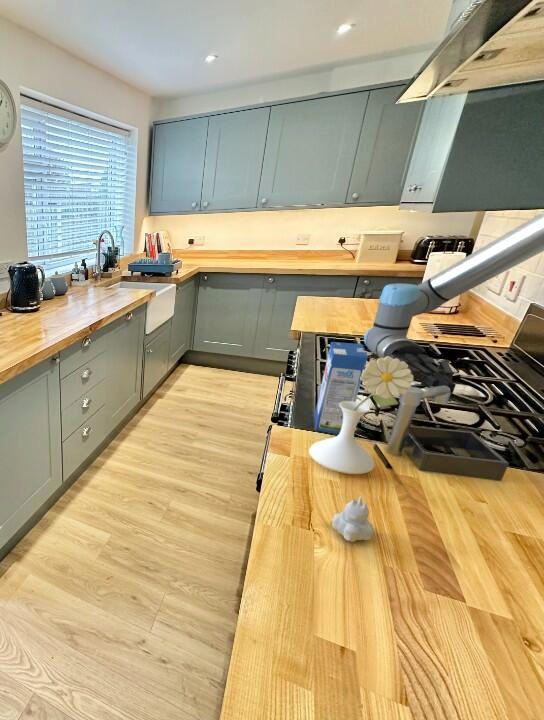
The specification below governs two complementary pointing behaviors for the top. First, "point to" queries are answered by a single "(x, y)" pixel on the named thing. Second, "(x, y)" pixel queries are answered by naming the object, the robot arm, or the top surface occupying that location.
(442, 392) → the spout
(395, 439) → the faucet base
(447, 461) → the dark grey open tray
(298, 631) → the top surface
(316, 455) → the flower in vase
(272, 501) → the top surface
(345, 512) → the grey creature figurine
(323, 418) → the milk carton
